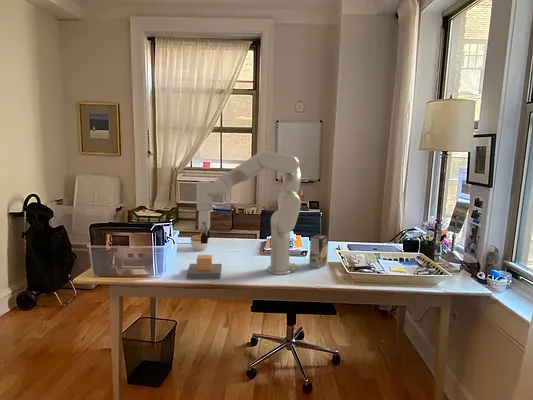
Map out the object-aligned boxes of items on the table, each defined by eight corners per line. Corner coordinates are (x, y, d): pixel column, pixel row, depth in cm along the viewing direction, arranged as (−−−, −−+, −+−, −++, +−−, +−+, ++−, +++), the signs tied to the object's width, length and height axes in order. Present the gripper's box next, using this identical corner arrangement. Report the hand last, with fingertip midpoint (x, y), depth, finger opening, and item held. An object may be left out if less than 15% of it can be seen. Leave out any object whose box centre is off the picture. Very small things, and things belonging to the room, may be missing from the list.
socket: (221, 269, 204) (221, 263, 203) (220, 279, 190) (220, 273, 190) (190, 269, 203) (190, 263, 202) (186, 278, 189) (186, 273, 189)
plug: (212, 269, 199) (212, 254, 198) (211, 274, 194) (211, 258, 192) (198, 269, 199) (198, 254, 198) (196, 274, 193) (196, 258, 192)
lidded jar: (187, 251, 233) (187, 235, 232) (194, 246, 244) (194, 231, 242) (204, 252, 231) (204, 237, 230) (211, 247, 241) (211, 233, 240)
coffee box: (319, 268, 208) (320, 239, 206) (308, 266, 212) (310, 237, 209) (327, 264, 216) (328, 236, 213) (316, 262, 220) (318, 234, 217)
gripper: (198, 203, 199) (199, 236, 202) (194, 210, 182) (195, 245, 185) (213, 203, 200) (214, 236, 202) (211, 210, 183) (211, 245, 185)
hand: (205, 240), depth 194 cm, fingers open, 9 cm apart
